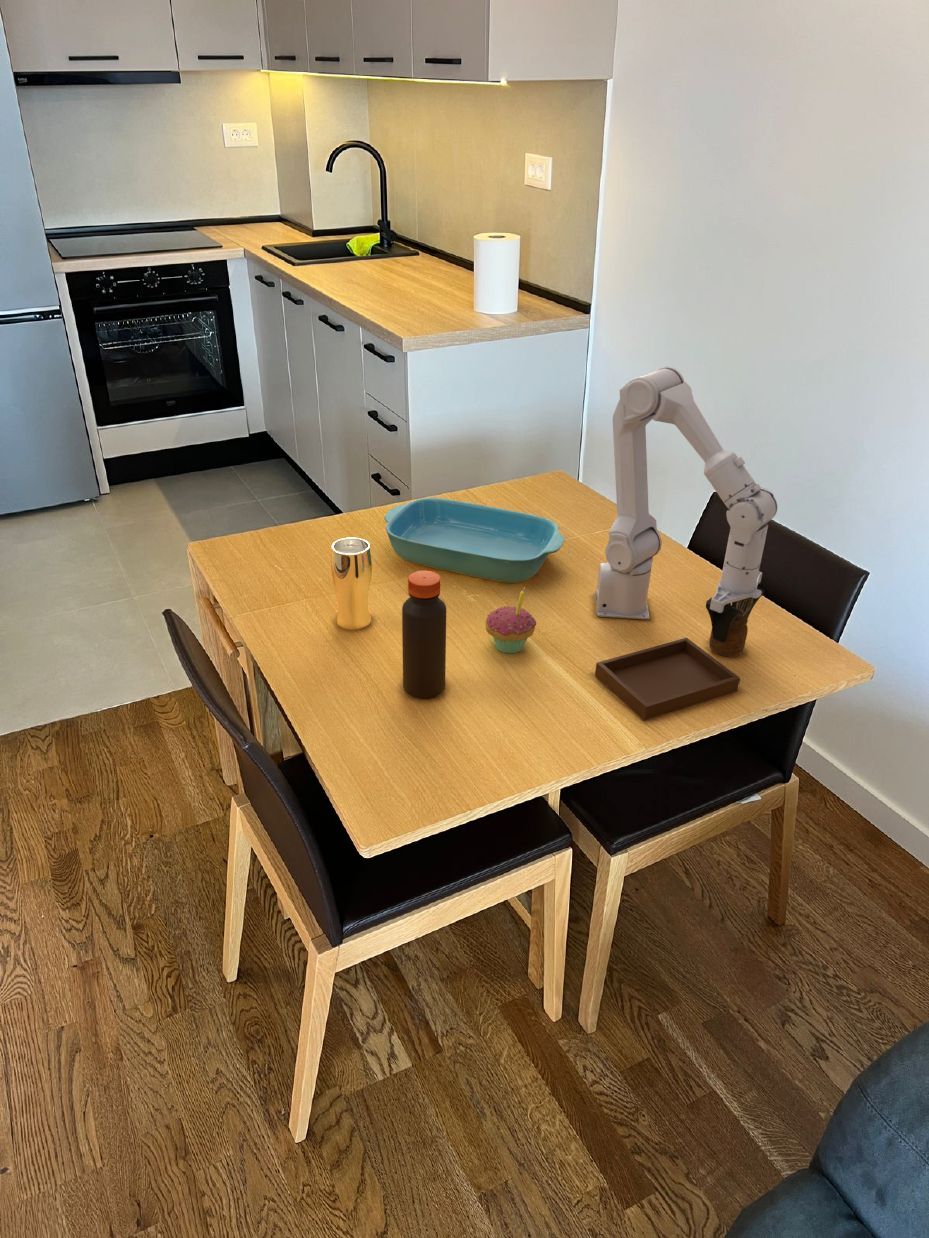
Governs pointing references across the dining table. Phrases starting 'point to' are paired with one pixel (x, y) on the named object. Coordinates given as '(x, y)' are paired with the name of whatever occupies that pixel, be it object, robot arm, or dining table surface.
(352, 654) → the dining table surface
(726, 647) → the utensil holder
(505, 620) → the cupcake
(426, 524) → the casserole dish
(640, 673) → the tray
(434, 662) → the bottle
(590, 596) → the dining table surface
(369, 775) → the dining table surface
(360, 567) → the beer glass
